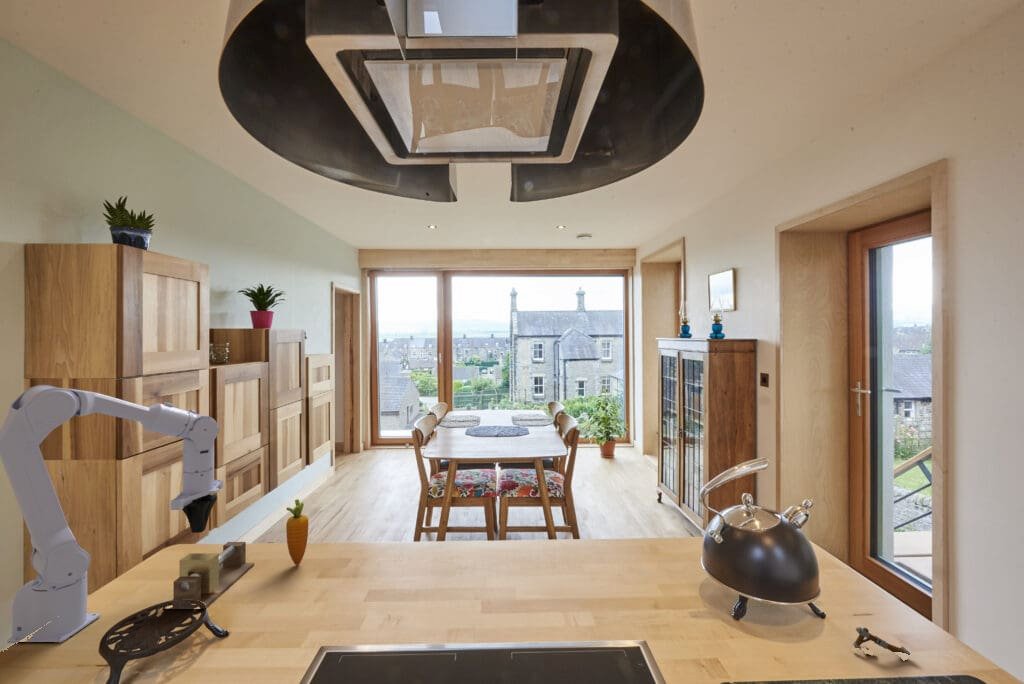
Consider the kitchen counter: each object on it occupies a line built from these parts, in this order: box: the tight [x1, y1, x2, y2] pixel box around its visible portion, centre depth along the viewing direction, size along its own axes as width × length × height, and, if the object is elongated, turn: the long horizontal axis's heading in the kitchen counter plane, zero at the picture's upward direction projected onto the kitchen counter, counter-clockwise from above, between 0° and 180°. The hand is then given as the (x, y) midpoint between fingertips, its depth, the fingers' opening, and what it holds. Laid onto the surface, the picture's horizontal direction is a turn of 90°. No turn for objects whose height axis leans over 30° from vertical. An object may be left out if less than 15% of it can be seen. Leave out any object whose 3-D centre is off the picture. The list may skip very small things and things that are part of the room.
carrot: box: [285, 499, 309, 566], centre depth 109 cm, size 5×5×15 cm
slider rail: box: [170, 541, 255, 608], centre depth 99 cm, size 18×8×6 cm, turn 1°
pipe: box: [179, 546, 236, 592], centre depth 99 cm, size 18×2×2 cm, turn 1°
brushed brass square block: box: [178, 552, 220, 594], centre depth 95 cm, size 3×6×7 cm, turn 91°
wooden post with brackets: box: [852, 626, 911, 655], centre depth 78 cm, size 2×8×4 cm, turn 80°
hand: (198, 531), depth 102 cm, fingers closed
